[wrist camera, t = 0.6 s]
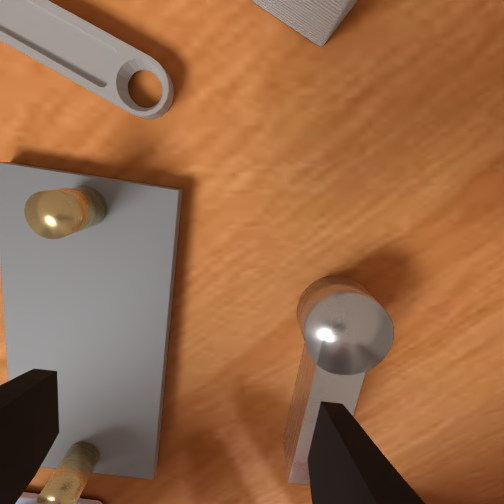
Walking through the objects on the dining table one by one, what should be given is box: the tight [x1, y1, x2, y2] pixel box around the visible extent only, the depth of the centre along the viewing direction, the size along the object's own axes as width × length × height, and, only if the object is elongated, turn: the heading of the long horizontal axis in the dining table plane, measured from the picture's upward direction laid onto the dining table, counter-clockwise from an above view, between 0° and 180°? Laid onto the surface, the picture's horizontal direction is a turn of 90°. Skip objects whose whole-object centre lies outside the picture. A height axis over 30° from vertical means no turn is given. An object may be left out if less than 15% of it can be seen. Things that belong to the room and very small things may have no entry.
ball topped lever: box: [283, 276, 394, 485], centre depth 18 cm, size 12×4×3 cm, turn 171°
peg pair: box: [24, 186, 107, 504], centre depth 16 cm, size 18×2×3 cm, turn 171°
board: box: [0, 162, 183, 480], centre depth 18 cm, size 19×9×1 cm, turn 171°
